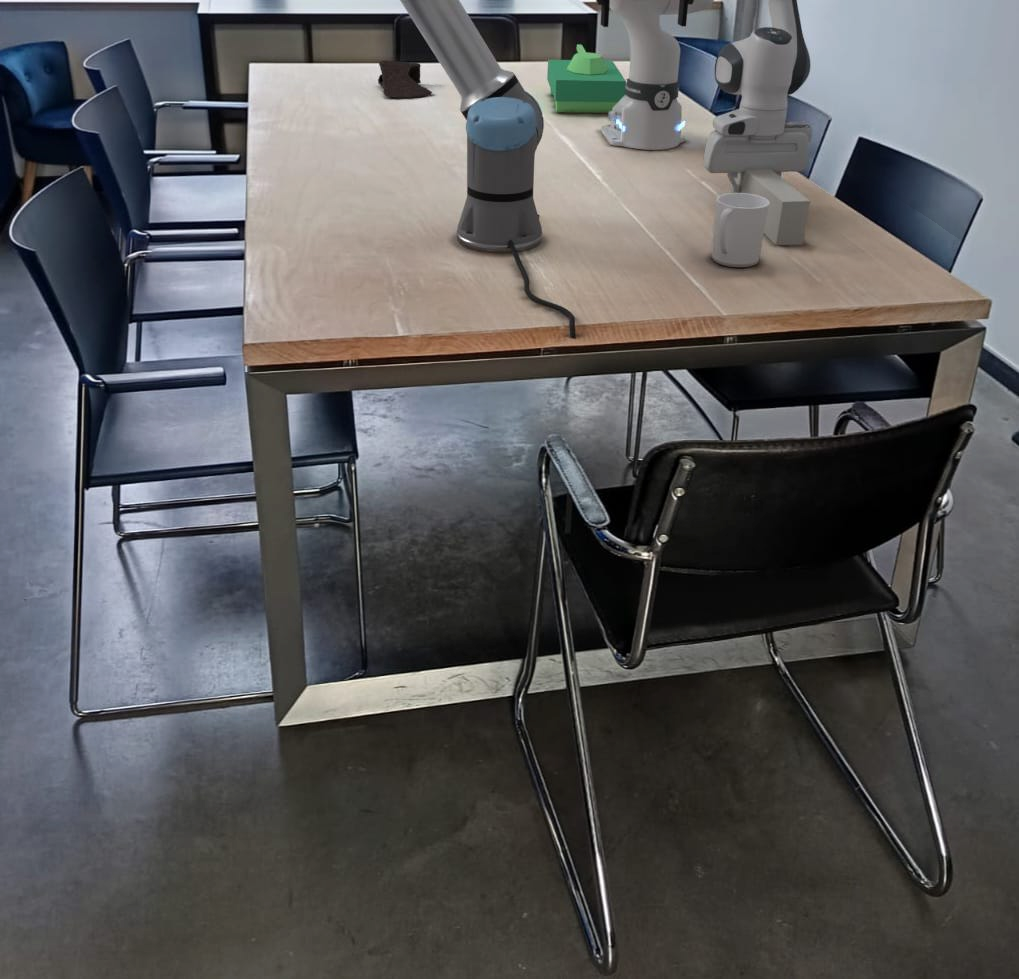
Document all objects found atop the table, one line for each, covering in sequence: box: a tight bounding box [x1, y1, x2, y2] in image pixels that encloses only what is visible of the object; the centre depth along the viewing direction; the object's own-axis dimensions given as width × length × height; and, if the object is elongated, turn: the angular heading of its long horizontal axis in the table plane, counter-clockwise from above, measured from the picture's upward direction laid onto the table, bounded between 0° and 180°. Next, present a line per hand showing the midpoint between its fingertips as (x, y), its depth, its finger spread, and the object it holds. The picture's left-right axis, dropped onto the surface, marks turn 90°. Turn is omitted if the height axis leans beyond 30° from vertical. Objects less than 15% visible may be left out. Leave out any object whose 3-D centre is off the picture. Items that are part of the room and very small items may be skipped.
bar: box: [734, 169, 811, 246], centre depth 206 cm, size 26×5×8 cm, turn 8°
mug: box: [711, 192, 770, 268], centre depth 186 cm, size 11×9×10 cm
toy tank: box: [546, 44, 627, 114], centre depth 291 cm, size 18×12×35 cm
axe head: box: [377, 59, 433, 99], centre depth 299 cm, size 18×8×15 cm
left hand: (643, 25), depth 187 cm, fingers open, 13 cm apart
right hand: (751, 194), depth 214 cm, fingers closed on bar, 5 cm apart
